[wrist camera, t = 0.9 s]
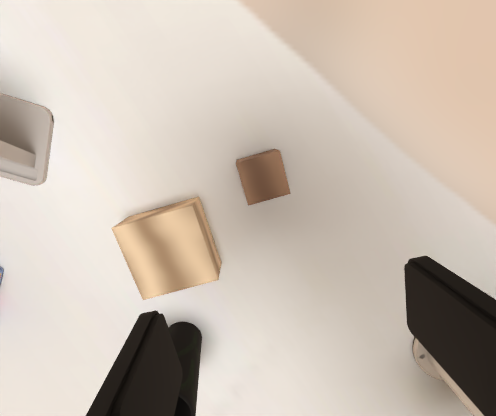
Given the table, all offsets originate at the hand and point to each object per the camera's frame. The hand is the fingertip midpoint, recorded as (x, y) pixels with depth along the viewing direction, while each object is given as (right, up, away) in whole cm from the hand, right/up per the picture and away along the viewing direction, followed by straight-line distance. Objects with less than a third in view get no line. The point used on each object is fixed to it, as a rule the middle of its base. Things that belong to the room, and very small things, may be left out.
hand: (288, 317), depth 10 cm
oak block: (-12, 0, +27) cm, 29 cm away
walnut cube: (0, +9, +25) cm, 26 cm away
